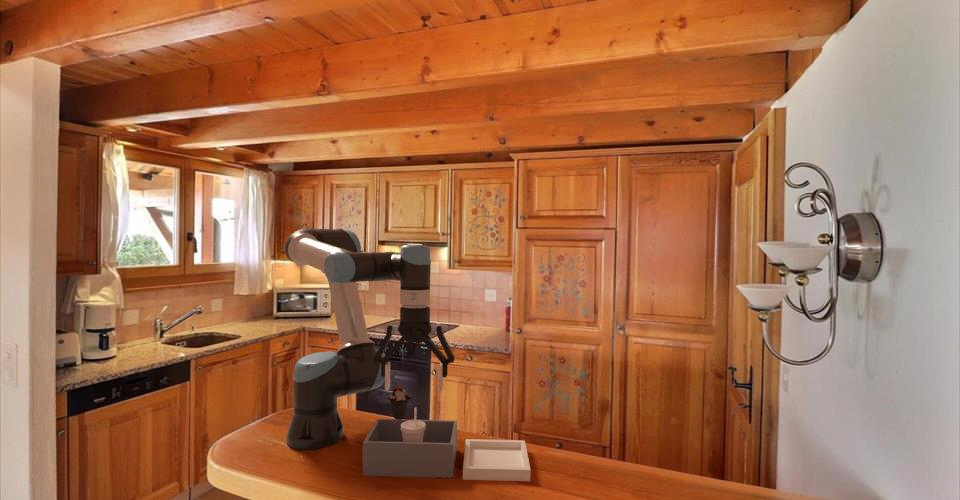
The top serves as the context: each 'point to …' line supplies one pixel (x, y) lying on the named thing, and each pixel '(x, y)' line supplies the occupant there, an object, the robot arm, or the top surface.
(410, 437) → the smoothie
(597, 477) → the top surface
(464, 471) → the tray
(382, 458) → the deep bin
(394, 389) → the sundae
